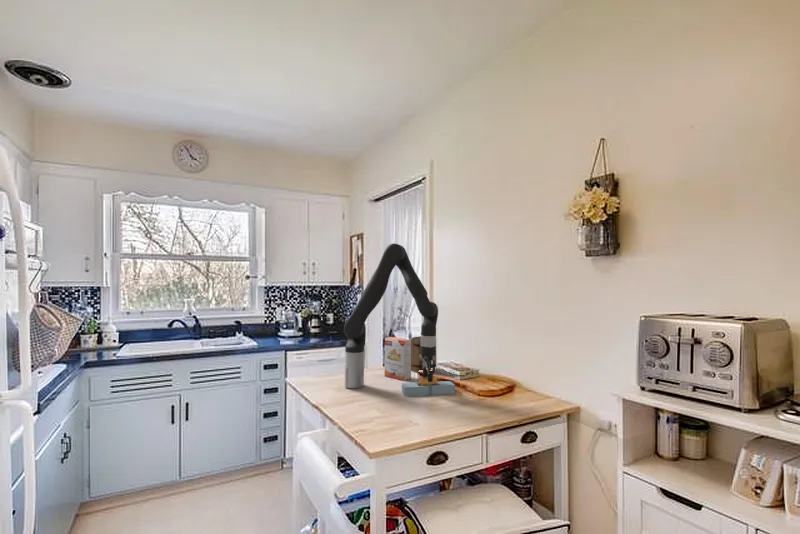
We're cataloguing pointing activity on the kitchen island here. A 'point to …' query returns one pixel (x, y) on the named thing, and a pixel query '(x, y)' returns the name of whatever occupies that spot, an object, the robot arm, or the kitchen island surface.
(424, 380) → the clip
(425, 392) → the light blue long block
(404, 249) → the robot arm
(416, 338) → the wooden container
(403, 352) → the cracker box
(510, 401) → the kitchen island surface
